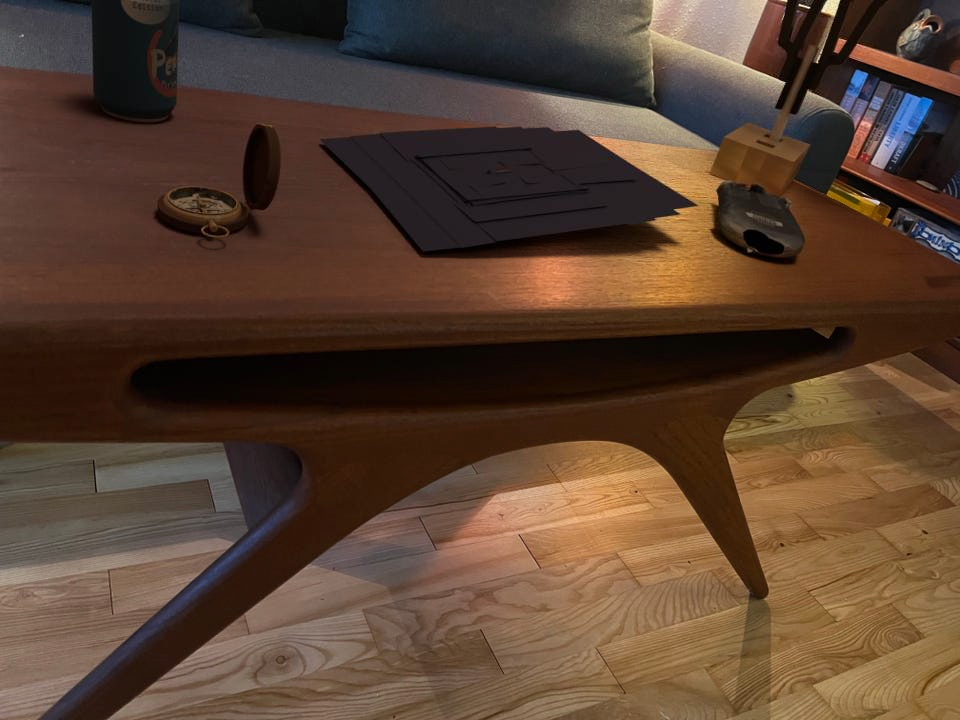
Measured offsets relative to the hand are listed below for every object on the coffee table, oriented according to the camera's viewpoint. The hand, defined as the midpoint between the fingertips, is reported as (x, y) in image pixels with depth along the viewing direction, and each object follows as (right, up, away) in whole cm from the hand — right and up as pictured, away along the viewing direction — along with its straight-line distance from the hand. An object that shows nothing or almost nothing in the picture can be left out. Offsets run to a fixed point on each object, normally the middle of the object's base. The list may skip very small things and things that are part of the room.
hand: (786, 110), depth 105 cm
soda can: (-73, -11, -33) cm, 81 cm away
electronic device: (-12, -20, -20) cm, 31 cm away
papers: (-39, -18, -29) cm, 51 cm away
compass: (-60, -24, -48) cm, 81 cm away
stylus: (-1, -5, +3) cm, 6 cm away
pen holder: (-4, -8, +2) cm, 9 cm away
